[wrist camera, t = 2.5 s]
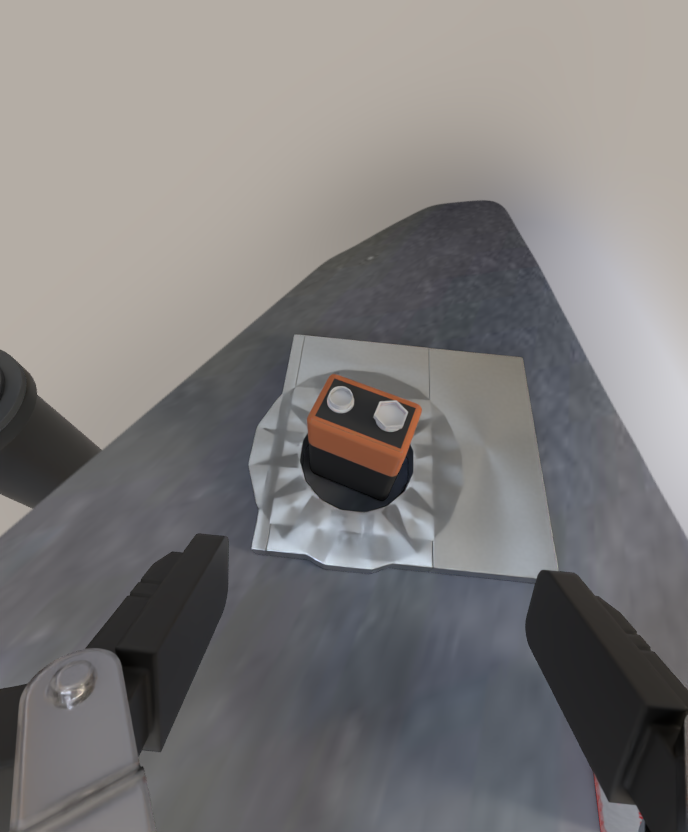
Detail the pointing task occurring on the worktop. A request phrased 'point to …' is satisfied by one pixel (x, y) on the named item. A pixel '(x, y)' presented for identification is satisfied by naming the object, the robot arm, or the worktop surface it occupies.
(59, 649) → the worktop surface
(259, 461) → the sink plate
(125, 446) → the worktop surface
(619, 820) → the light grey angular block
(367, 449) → the battery
